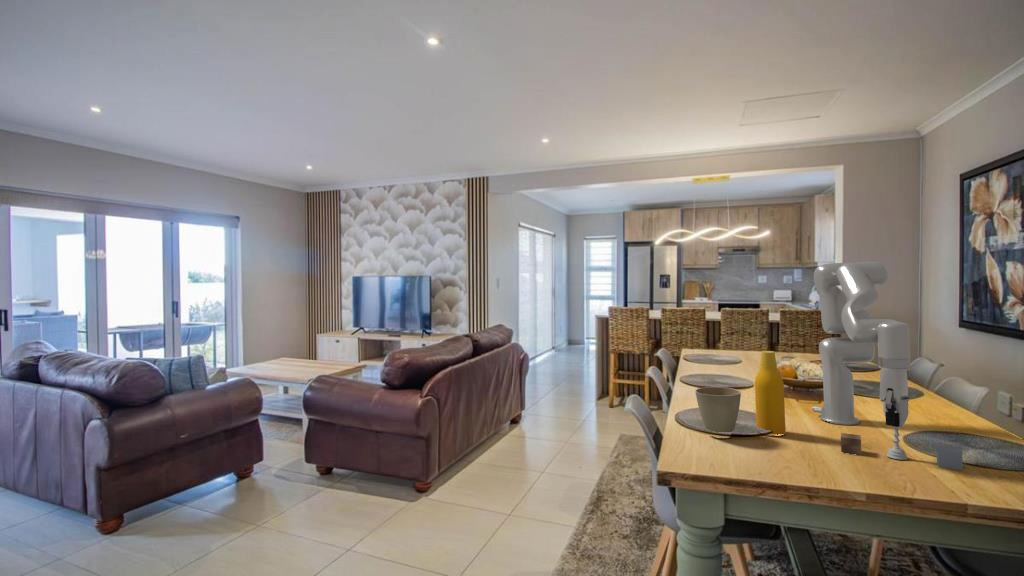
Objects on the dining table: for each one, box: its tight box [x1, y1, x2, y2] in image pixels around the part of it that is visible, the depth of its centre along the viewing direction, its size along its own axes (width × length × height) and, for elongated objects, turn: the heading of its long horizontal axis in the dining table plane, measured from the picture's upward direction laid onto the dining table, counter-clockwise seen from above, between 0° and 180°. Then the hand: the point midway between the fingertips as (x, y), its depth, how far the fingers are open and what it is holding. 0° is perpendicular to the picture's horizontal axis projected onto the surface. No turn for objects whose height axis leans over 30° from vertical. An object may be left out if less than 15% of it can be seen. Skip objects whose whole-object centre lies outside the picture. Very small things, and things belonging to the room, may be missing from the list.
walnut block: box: [840, 432, 862, 456], centre depth 150 cm, size 5×5×5 cm
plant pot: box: [694, 386, 742, 432], centre depth 170 cm, size 15×15×16 cm
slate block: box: [935, 444, 964, 471], centre depth 136 cm, size 5×5×5 cm
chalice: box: [882, 396, 911, 460], centre depth 143 cm, size 7×7×18 cm
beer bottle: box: [754, 350, 787, 435], centre depth 171 cm, size 9×9×29 cm
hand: (896, 422), depth 143 cm, fingers closed on chalice, 6 cm apart
